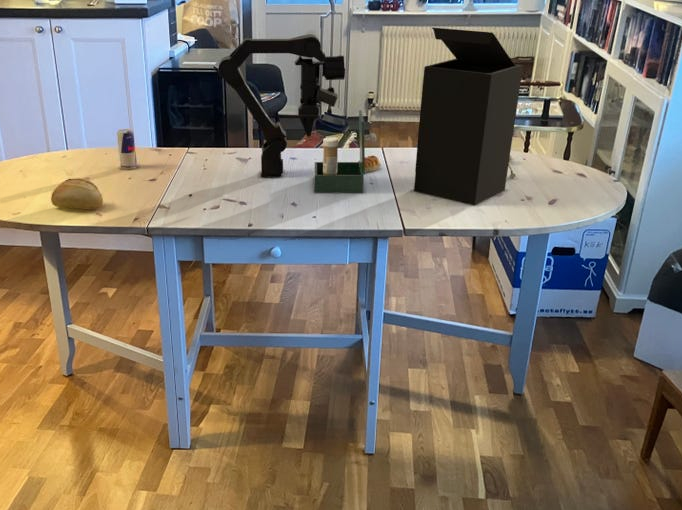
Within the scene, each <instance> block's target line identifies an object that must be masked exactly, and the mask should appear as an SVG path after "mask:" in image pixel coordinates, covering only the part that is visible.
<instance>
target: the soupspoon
mask: <svg viewBox="0 0 682 510" xmlns="http://www.w3.org/2000/svg"><path fill="white" fill-rule="evenodd" d="M515 159H516V158H515V157H513V156H512V155H510V158H509V165H508V169H509V171H510V174H509V178H510V179H515V178H516V176H517V174H515V172H514V170H513V167H512V165H511V163H510V162H511V161H513V160H515Z"/></svg>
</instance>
